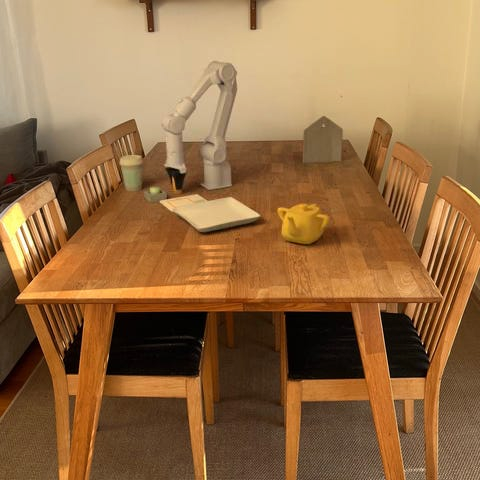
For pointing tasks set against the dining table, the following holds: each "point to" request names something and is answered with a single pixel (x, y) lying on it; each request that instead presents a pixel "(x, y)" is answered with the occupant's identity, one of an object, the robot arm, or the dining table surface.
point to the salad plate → (216, 214)
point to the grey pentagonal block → (322, 142)
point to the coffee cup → (132, 172)
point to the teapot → (303, 223)
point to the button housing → (155, 196)
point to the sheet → (182, 201)
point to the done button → (154, 190)
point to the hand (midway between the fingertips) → (177, 188)
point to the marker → (175, 189)
